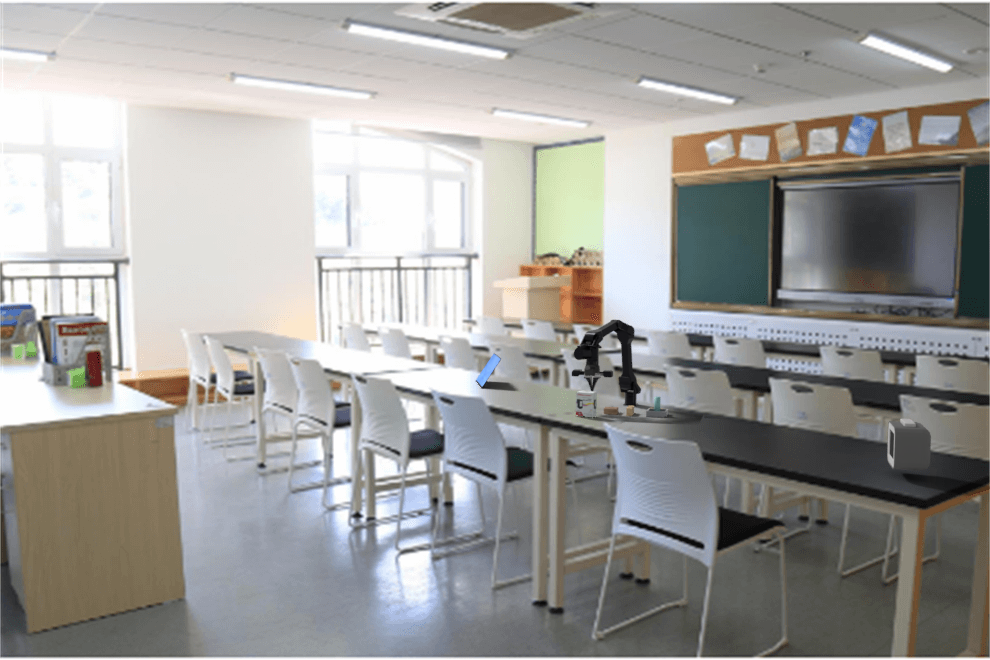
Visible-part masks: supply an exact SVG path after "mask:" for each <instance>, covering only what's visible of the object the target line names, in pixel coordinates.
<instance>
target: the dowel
mask: <svg viewBox="0 0 990 660" xmlns="http://www.w3.org/2000/svg"><path fill="white" fill-rule="evenodd" d="M653 399H654V400H653V405H654V406H653V408H654V411H660V408H661V396H654V398H653Z"/></svg>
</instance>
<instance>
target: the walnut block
mask: <svg viewBox="0 0 990 660" xmlns="http://www.w3.org/2000/svg"><path fill="white" fill-rule="evenodd" d="M603 414H604V415H615V416H617V415H618V414H619V407H618V406H605V407H603Z"/></svg>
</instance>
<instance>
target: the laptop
mask: <svg viewBox="0 0 990 660" xmlns="http://www.w3.org/2000/svg"><path fill="white" fill-rule="evenodd" d="M501 360H502V358H501V357H500V356H499V355H497V354H496V353H495V352H494V353H493V354H492V355H491V357H490V359H489V360H488V361H487V363H486V364H485V365H484V367H483V369H482V370H481V372H480V373H479V375H478V376H477V378H476V379H475V383H476V382H477V383H478V384H477V383H476V384H477V385H479V386H480V387H481V388H482V389H483V387H484V386H485V384H486V383H487V381H488V380H489V379H490V377H491V375H492V374H493V373H494V371H495V369H496V368H497V367H498V365H499V363H500V362H501ZM479 386H478V387H479ZM480 387H479V388H480ZM481 388H480V389H481Z"/></svg>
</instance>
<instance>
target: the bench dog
mask: <svg viewBox="0 0 990 660" xmlns="http://www.w3.org/2000/svg"><path fill="white" fill-rule="evenodd" d="M625 412H626V414H625V416H627V417H632V416H633V415H634V414H635V406H627V407H626V411H625Z"/></svg>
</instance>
